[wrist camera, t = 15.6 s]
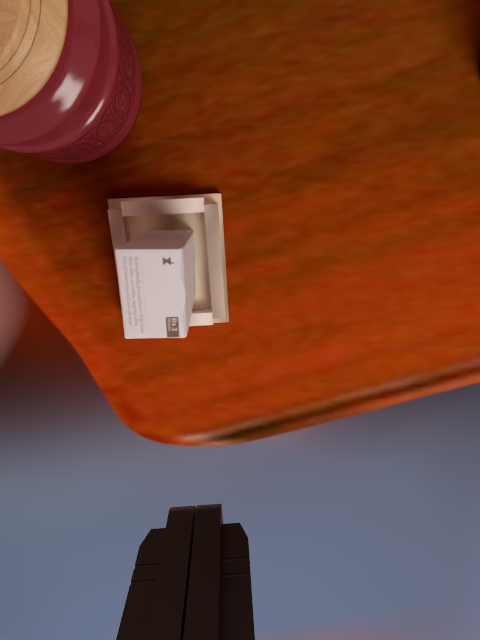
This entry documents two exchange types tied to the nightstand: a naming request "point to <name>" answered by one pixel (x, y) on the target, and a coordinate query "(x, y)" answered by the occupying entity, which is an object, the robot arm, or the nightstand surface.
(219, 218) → the white shallow tray
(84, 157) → the canister
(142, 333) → the skincare box
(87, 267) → the nightstand surface
